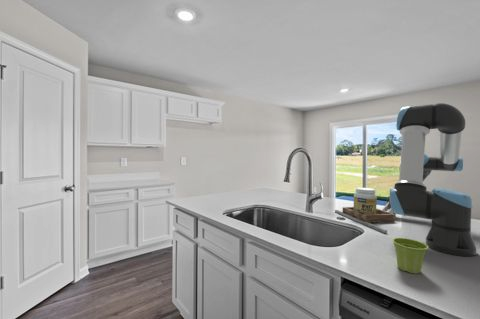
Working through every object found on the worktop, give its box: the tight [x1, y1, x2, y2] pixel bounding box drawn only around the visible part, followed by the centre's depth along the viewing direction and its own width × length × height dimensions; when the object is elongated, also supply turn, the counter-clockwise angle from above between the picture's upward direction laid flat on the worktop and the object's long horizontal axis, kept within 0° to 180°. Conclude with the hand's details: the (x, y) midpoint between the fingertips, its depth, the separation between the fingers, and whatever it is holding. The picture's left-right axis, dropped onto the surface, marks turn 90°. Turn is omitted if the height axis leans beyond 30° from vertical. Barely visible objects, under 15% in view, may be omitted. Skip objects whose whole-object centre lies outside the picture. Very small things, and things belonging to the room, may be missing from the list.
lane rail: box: [334, 209, 388, 235], centre depth 130 cm, size 40×1×2 cm, turn 11°
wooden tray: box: [342, 195, 397, 224], centre depth 138 cm, size 19×28×12 cm
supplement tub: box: [353, 187, 378, 215], centre depth 139 cm, size 12×12×17 cm
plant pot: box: [392, 237, 430, 274], centre depth 76 cm, size 9×9×9 cm
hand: (386, 211), depth 139 cm, fingers closed on wooden tray, 4 cm apart
